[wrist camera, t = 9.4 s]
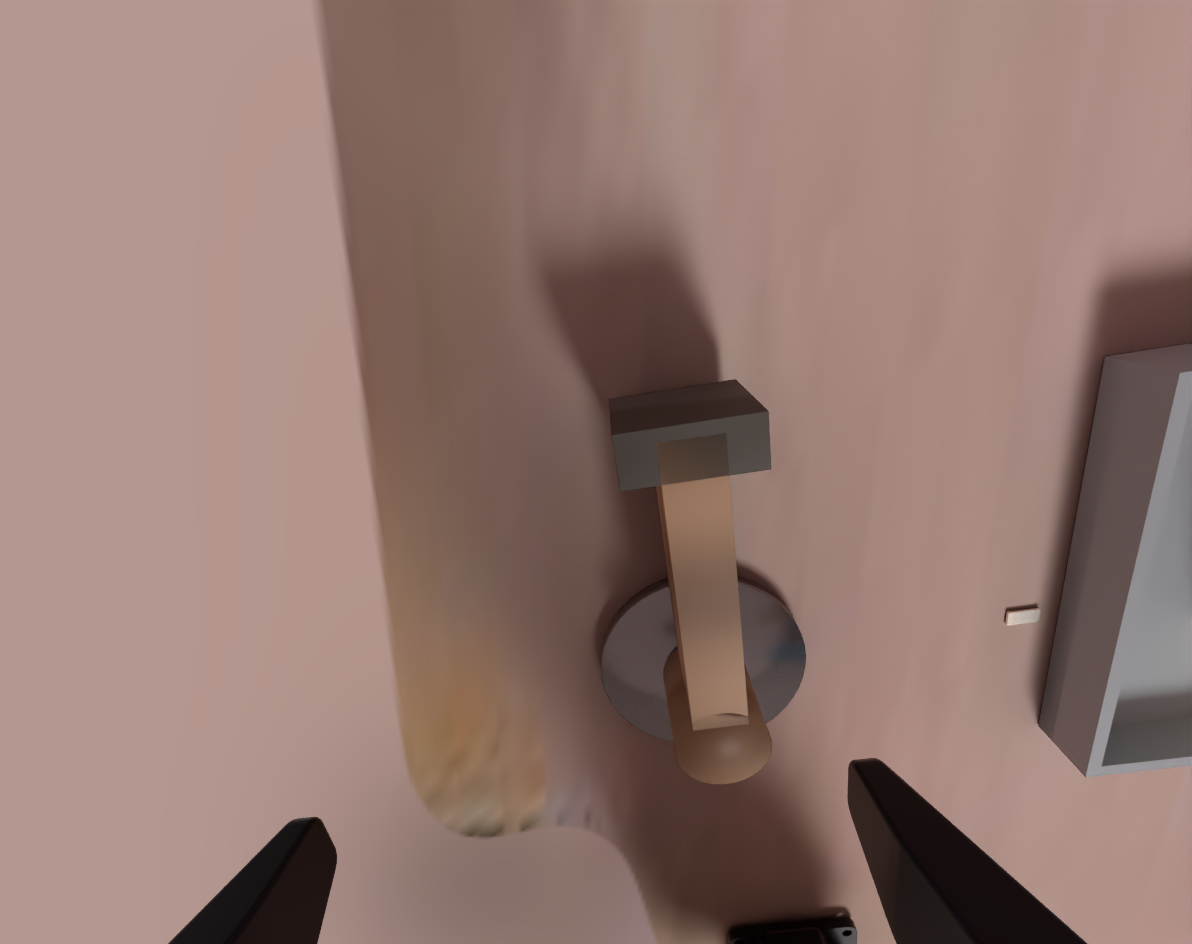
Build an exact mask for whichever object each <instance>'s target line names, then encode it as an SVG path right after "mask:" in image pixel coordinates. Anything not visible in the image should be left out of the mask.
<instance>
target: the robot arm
mask: <svg viewBox="0 0 1192 944" xmlns="http://www.w3.org/2000/svg"><path fill="white" fill-rule="evenodd" d="M848 805H849V810H850V813H851V817H852V820H853V822H854V825H855V828H856V831H857V834H858V837H859V840H860V843H861V845H862V848H863V851H864V854H865V857H866V860H867V863H868V866H869V869H870V871H871V874H872V877H873V880H874V883H875V886H876V889H877V892H878V895H879V897H880V900H881V903H882V906H883V909H884V912H885V915H886V917H887V920H888V923H889V926H890V928H891V931H892V934H893V936H894V939H895V941H896V943H897V944H1087V943H1086V942H1085V941H1084V940H1083V939H1082V938H1080V937H1079V936H1078V935H1077V934H1076V933H1075V932H1074V931H1073V930H1071V929H1070V928H1069V927H1068V926H1067V925H1066V924H1065V923H1064V922H1062V921H1061V920H1060V919H1059V918H1058V917H1057V916H1056V915H1055V914H1053V913H1052V912H1051V911H1050V910H1049V909H1048V908H1047V907H1046V906H1044V905H1043V904H1042V903H1041V902H1040V901H1039V900H1038V899H1037V898H1035V897H1034V896H1033V895H1032V894H1031V893H1030V892H1029V891H1028V890H1026V889H1025V888H1024V887H1023V886H1022V885H1021V884H1020V883H1019V882H1017V881H1016V880H1015V879H1014V878H1013V877H1012V876H1011V875H1010V874H1008V873H1007V872H1006V871H1005V870H1004V869H1003V868H1002V867H1001V866H999V865H998V864H997V863H996V862H995V861H994V860H993V859H991V858H990V857H989V856H988V855H987V854H986V853H985V852H984V851H982V850H981V849H980V848H979V847H978V846H977V845H976V844H975V843H973V842H972V841H971V840H970V839H969V838H968V837H967V836H966V835H964V834H963V833H962V832H961V831H960V830H959V829H958V828H957V827H955V826H954V825H953V824H952V823H951V822H950V821H949V820H948V819H946V818H945V817H944V816H943V815H942V814H941V813H940V812H939V811H937V810H936V809H935V808H934V807H933V806H932V805H931V804H930V803H928V802H927V801H926V800H925V799H924V798H923V797H922V796H921V795H919V794H918V793H917V792H916V791H915V790H914V789H913V788H912V787H910V786H909V785H908V784H907V783H906V782H905V781H904V780H903V779H901V778H900V777H899V776H898V775H897V774H896V773H895V772H894V771H892V770H891V769H890V768H889V767H888V766H887V765H886V764H885V763H883V762H882V761H881V760H879V759H876V758H868V759H859V760H853V761H851V762H850V764H849V768H848ZM336 864H337V853H336V849H335V846H334V844H333V842H332V840H331V838H330V836H329V834H328V832H327V830H326V828H325V826H324V824H323V822H322V820H321V819H319V818H318V817H310V818H299V819H295V820H292V821H291V822H289V823H288V824H287V825H285V826H284V828H282V829H281V830H280V831H279V832H278V833H277V834H276V835H275V837H273V839H271V840H270V841H269V843H268V844H267V845H266V846H265V847H264V848H263V849H262V850H261V851H260V852H259V853H258V854H257V855H256V856H255V857H254V858H253V859H252V860H251V861H250V862H249V863H248V864H247V865H246V866H245V867H244V868H243V869H242V870H241V871H240V872H239V873H238V874H237V875H236V876H235V877H234V878H233V879H232V880H231V881H230V882H229V883H228V884H227V885H226V886H225V887H224V888H223V889H222V890H221V891H220V892H219V893H218V894H217V895H216V896H215V897H214V898H213V899H212V900H211V901H210V902H209V903H208V904H207V905H206V906H205V907H204V908H203V909H202V910H201V911H200V912H199V913H198V914H197V915H196V916H195V917H194V918H193V919H192V920H191V921H190V922H189V923H188V924H187V925H186V926H185V927H184V928H183V929H182V930H181V931H180V933H178V934H177V935H176V936H175V937H174V938H173V939H172V940H171V941H170V942H169V943H168V944H317V942H318V938H319V934H320V930H321V926H322V922H323V918H324V914H325V910H326V906H327V902H328V898H329V894H330V890H331V886H332V882H333V878H334V873H335V869H336ZM728 941H729V944H857V930H856V927H855V925H854V922H853V921H852V920H851V919H848V918H842V919H832V920H821V921H811V922H801V923H790V924H780V925H769V926H759V927H749V928H738V929H733V930H731V931H730V932H729V933H728Z"/></svg>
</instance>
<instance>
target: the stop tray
mask: <svg viewBox="0 0 1192 944" xmlns="http://www.w3.org/2000/svg"><path fill="white" fill-rule="evenodd" d="M1038 726H1039V727H1040V728H1041V729H1042V730H1043V731H1044V732H1045V734H1046V735H1047V736H1048V737H1049V738H1050V739H1051V740H1052V741H1053V742H1054V743H1055V744H1056V745H1057V747H1058V748H1059V749H1060V750H1061V751H1062V752H1063V753H1064V754H1065V755H1066V756H1067V757H1068V759H1069V760H1070V761H1071V762H1072V763H1073V764H1074V765H1075V766H1076V767H1077V768H1078V769H1079V771H1080V772H1081V773H1082V774H1083V775H1084V776H1085V777H1092V776H1101V775H1111V774H1120V773H1129V772H1138V771H1147V770H1156V769H1166V768H1175V767H1184V766H1192V343H1189V344H1183V345H1176V346H1170V347H1163V348H1157V349H1150V350H1144V351H1138V352H1131V353H1125V354H1118V355H1112V356H1105V359H1104V365H1103V370H1102V376H1101V381H1100V387H1099V392H1098V398H1097V404H1096V409H1095V415H1094V420H1093V426H1092V431H1091V437H1090V442H1089V448H1088V453H1087V459H1086V465H1085V470H1084V476H1083V481H1082V487H1081V492H1080V498H1079V503H1078V509H1077V514H1076V520H1075V526H1074V531H1073V537H1072V542H1071V548H1070V553H1069V559H1068V564H1067V570H1066V575H1065V581H1064V587H1063V592H1062V598H1061V603H1060V609H1059V614H1058V620H1057V625H1056V631H1055V636H1054V642H1053V648H1052V653H1051V659H1050V664H1049V670H1048V675H1047V681H1046V686H1045V692H1044V697H1043V703H1042V708H1041V714H1040V720H1039V725H1038Z"/></svg>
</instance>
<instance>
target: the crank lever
mask: <svg viewBox="0 0 1192 944" xmlns="http://www.w3.org/2000/svg"><path fill="white" fill-rule="evenodd" d="M609 406H610V420H611V433H612V441H613V447H614V453H615V459H616V466H617V472H618V478H619V484H620V491H627V490H634V489H641V488H648V487H654V486H656V491H657V499H658V506H659V514H660V521H661V529H662V536H663V544H664V551H665V559H666V566H667V574H668V581H669V589H670V596H671V604H672V611H673V619H674V626H675V634H676V641H677V649H676V650H675V651H674V652H673V653H672V654H671V655H670V656H669V658H668V659H667V661H666V663H665V665H664V669H663V679H664V686H665V692H666V699H667V705H668V712H669V718H670V725H671V732H672V738H673V745H674V751H675V757H676V761H677V763H678V765H679V766H680V768H681V769H682V770H683V771H684V772H685V773H686V774H687V775H688V776H690V777H692V778H693V779H696V780H698V781H701V782H704V783H709V784H730V783H735V782H739V781H742V780H745V779H747V778H749V777H751V776H752V775H754V774H756V773H757V772H758V771H759V770H760V769H761V768H762V767H763V766H764V765H765V764H766V763H767V761H768V759H769V757H770V755H771V751H772V740H771V737H770V734H769V731H768V728H767V726H766V723H765V720H764V717H763V714H762V711H761V708H760V706H759V703H758V700H757V697H756V694H755V691H754V689H753V686H752V683H751V680H750V677H749V674H748V672H747V669H746V666H745V663H744V655H743V643H742V630H741V617H740V605H739V592H738V579H737V567H736V554H735V541H734V529H733V516H732V503H731V490H730V478H729V475H736V474H743V473H749V472H756V471H763V470H770V469H771V454H770V433H769V412H768V410H767V409H766V408H765V407H764V406H763V405H762V404H761V403H760V402H759V401H757V400H756V399H755V398H754V397H753V396H752V395H751V394H750V393H749V392H748V391H747V390H746V389H745V388H744V387H743V386H742V385H741V384H740V383H739V382H738V381H737V380H736V379H735V380H728V381H722V382H716V383H709V384H703V385H697V386H690V387H684V388H678V389H671V390H665V391H659V392H652V393H646V394H640V395H633V396H627V397H621V398H614V399H609Z"/></svg>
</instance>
